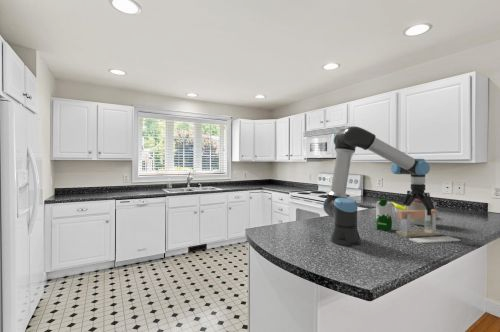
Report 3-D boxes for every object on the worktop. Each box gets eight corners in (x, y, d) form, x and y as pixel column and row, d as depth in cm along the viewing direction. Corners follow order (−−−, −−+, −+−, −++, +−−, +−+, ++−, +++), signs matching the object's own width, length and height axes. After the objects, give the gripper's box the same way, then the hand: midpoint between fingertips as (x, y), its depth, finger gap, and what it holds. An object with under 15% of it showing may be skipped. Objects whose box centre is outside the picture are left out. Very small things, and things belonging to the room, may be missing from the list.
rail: (401, 219, 151) (401, 211, 151) (397, 218, 154) (397, 210, 154) (437, 217, 156) (437, 210, 156) (433, 216, 159) (433, 209, 159)
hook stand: (406, 236, 149) (406, 214, 149) (395, 233, 157) (395, 212, 157) (439, 235, 154) (440, 213, 154) (428, 231, 161) (428, 211, 161)
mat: (419, 243, 136) (419, 242, 136) (408, 239, 143) (408, 238, 143) (460, 241, 141) (460, 239, 141) (448, 237, 148) (448, 236, 148)
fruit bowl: (437, 217, 209) (437, 203, 209) (422, 221, 194) (422, 206, 194) (401, 212, 232) (401, 199, 232) (385, 215, 217) (386, 201, 217)
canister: (409, 226, 176) (409, 196, 176) (403, 220, 193) (403, 193, 193) (440, 228, 170) (440, 197, 170) (431, 222, 187) (431, 194, 187)
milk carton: (374, 229, 166) (375, 199, 166) (379, 227, 173) (379, 197, 173) (389, 232, 160) (389, 200, 160) (393, 229, 167) (393, 199, 167)
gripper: (442, 185, 144) (442, 222, 144) (406, 182, 168) (406, 214, 168) (431, 185, 142) (431, 223, 142) (396, 182, 167) (396, 214, 166)
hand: (417, 218), depth 155 cm, fingers open, 13 cm apart
